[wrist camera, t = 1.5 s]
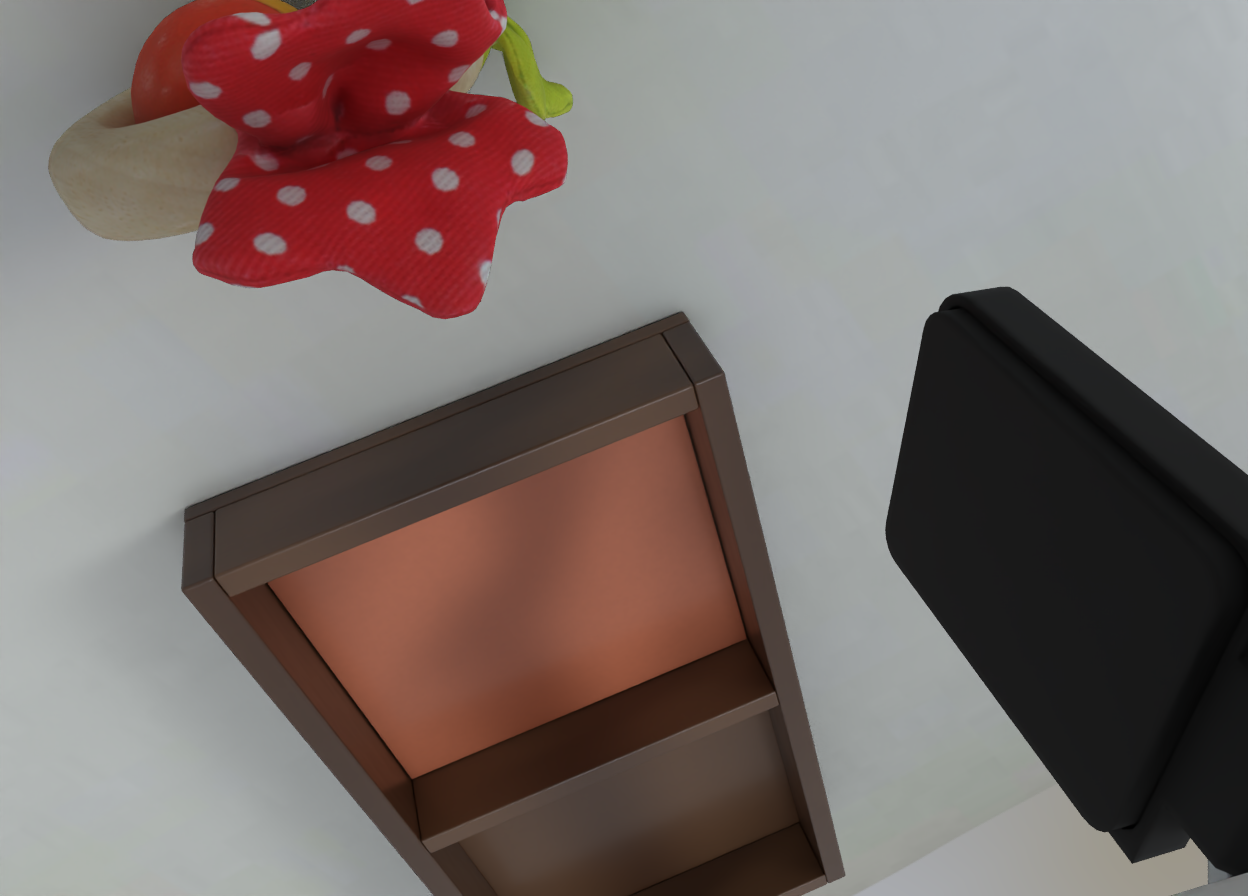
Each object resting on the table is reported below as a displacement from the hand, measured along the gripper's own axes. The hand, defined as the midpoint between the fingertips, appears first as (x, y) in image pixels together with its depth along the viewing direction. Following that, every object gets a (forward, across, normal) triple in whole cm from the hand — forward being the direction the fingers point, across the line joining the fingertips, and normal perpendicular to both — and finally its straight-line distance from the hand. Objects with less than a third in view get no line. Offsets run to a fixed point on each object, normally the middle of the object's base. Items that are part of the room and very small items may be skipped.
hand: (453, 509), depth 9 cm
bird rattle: (+15, 0, -1) cm, 15 cm away
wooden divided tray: (+15, -4, +22) cm, 27 cm away
